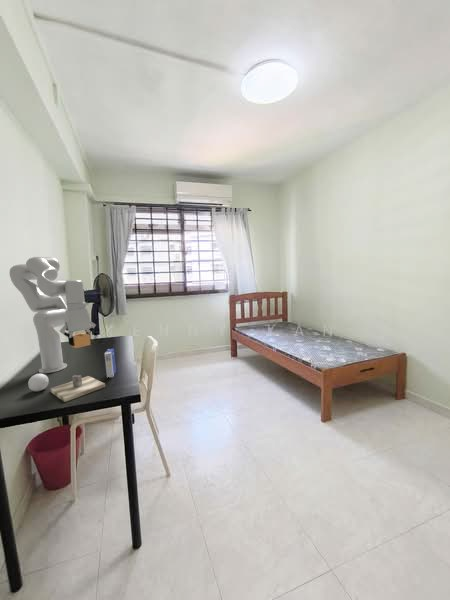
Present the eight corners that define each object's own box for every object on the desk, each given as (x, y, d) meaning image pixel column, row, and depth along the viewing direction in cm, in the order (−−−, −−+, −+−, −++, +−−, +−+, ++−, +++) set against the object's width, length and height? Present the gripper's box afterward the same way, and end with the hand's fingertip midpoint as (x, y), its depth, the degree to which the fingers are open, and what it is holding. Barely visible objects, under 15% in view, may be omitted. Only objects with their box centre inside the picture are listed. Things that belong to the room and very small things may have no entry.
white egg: (32, 388, 118) (29, 372, 117) (51, 385, 120) (49, 369, 120) (24, 398, 109) (21, 381, 108) (45, 394, 111) (43, 377, 110)
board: (50, 391, 114) (48, 378, 113) (89, 378, 126) (87, 366, 125) (64, 402, 103) (62, 387, 103) (105, 386, 115) (103, 373, 115)
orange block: (70, 345, 127) (69, 335, 126) (84, 342, 132) (83, 332, 131) (75, 348, 123) (74, 337, 122) (90, 344, 128) (89, 334, 127)
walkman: (110, 372, 133) (107, 348, 132) (116, 371, 134) (113, 347, 133) (106, 378, 126) (103, 353, 124) (112, 377, 126) (110, 352, 125)
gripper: (91, 303, 134) (95, 338, 136) (52, 308, 121) (57, 347, 123) (98, 304, 129) (102, 340, 131) (58, 309, 116) (63, 349, 118)
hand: (80, 343), depth 127 cm, fingers closed on orange block, 6 cm apart
